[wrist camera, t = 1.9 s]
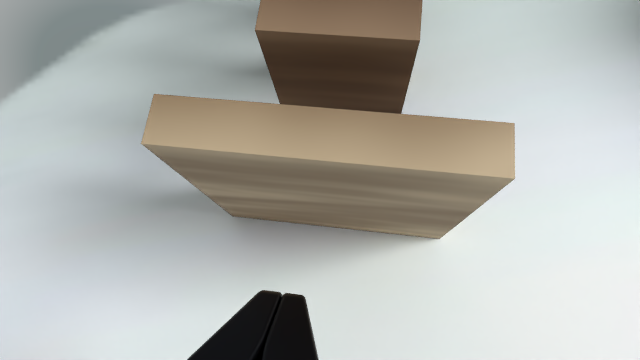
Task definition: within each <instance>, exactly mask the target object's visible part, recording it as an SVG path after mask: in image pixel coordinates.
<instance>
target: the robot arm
mask: <svg viewBox="0 0 640 360" xmlns="http://www.w3.org/2000/svg"><path fill="white" fill-rule="evenodd" d="M187 360H319V359H318V355H317V350H316V345H315V341H314V336H313V331H312V327H311V322H310V318H309V313H308V308H307V304H306V299H305V297H304V296H303V295H298V294H290V293H285V294H284V295H283V296H282V294H281V293H280V292H274V291H266V290H262V291H260V292H258V293H257V294H256V295H255V296H254V297H253V298H252V299H251V300H250V301H249V302H248V303H247V304H246V305H245V306H244V307H242V308H241V309H240V310H239V311H238V312H237V313H236V314H235V315H234V316H233V317H232V318H231V319H230V320H229V321H228V322H226V323H225V324H224V325H223V326H222V327H221V328H220V329H219V330H218V331H217V332H216V333H215V334H214V335H213V336H212V337H211V338H209V339H208V340H207V341H206V342H205V343H204V344H203V345H202V346H201V347H200V348H199V349H198V350H197V351H196V352H195V353H194V354H192V355H191V356H190V357H189V358H188V359H187Z"/></svg>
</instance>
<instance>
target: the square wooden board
mask: <svg viewBox="0 0 640 360" xmlns="http://www.w3.org/2000/svg"><path fill="white" fill-rule="evenodd" d="M141 144H142V145H143V146H145V147H146V148H147V149H148V150H150V151H151V152H152V153H154V154H155V155H156V156H157V157H159V158H160V159H161V160H162V161H164V162H165V163H166V164H167V165H169V166H170V167H171V168H172V169H174V170H175V171H176V172H177V173H179V174H180V175H181V176H183V177H184V178H185V179H186V180H188V181H189V182H190V183H191V184H193V185H194V186H195V187H196V188H198V189H199V190H200V191H201V192H203V193H204V194H205V195H206V196H208V197H209V198H210V199H211V200H213V201H214V202H215V203H217V204H218V205H219V206H220V207H222V208H223V209H224V210H225V211H227V212H228V213H229V214H230V215H232V216H235V217H244V218H253V219H263V220H272V221H281V222H290V223H299V224H308V225H317V226H327V227H336V228H345V229H354V230H363V231H372V232H381V233H391V234H400V235H409V236H418V237H427V238H436V239H440V238H441V237H443V236H444V235H445V234H446V233H448V232H449V231H450V230H451V229H453V228H454V227H455V226H456V225H458V224H459V223H460V222H461V221H463V220H464V219H465V218H466V217H468V216H469V215H470V214H471V213H473V212H474V211H475V210H476V209H478V208H479V207H480V206H481V205H483V204H484V203H485V202H486V201H488V200H489V199H490V198H491V197H493V196H494V195H495V194H496V193H498V192H499V191H500V190H501V189H503V188H504V187H505V186H506V185H508V184H509V183H510V182H511V181H513V180H514V179H515V127H514V123H506V122H493V121H481V120H469V119H456V118H444V117H432V116H419V115H407V114H395V113H382V112H370V111H358V110H345V109H333V108H321V107H308V106H296V105H284V104H271V103H259V102H247V101H234V100H222V99H210V98H197V97H185V96H173V95H160V94H154V96H153V100H152V103H151V107H150V111H149V115H148V119H147V123H146V127H145V131H144V134H143V138H142V142H141Z"/></svg>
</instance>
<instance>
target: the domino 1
mask: <svg viewBox="0 0 640 360" xmlns="http://www.w3.org/2000/svg"><path fill="white" fill-rule="evenodd" d="M421 14H422V0H261V1H260V6H259V12H258V17H257V22H256V27H255V32H256V35H257V38H258V40H259V43H260V46H261V49H262V52H263V55H264V58H265V61H266V64H267V67H268V70H269V73H270V76H271V79H272V81H273V84H274V87H275V90H276V93H277V96H278V99H279V102H280V104H284V105H296V106H308V107H321V108H333V109H345V110H358V111H370V112H382V113H395V114H401V112H402V108H403V104H404V100H405V96H406V92H407V89H408V85H409V81H410V77H411V73H412V69H413V65H414V61H415V57H416V53H417V49H418V45H419V42H420V30H421Z"/></svg>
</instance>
